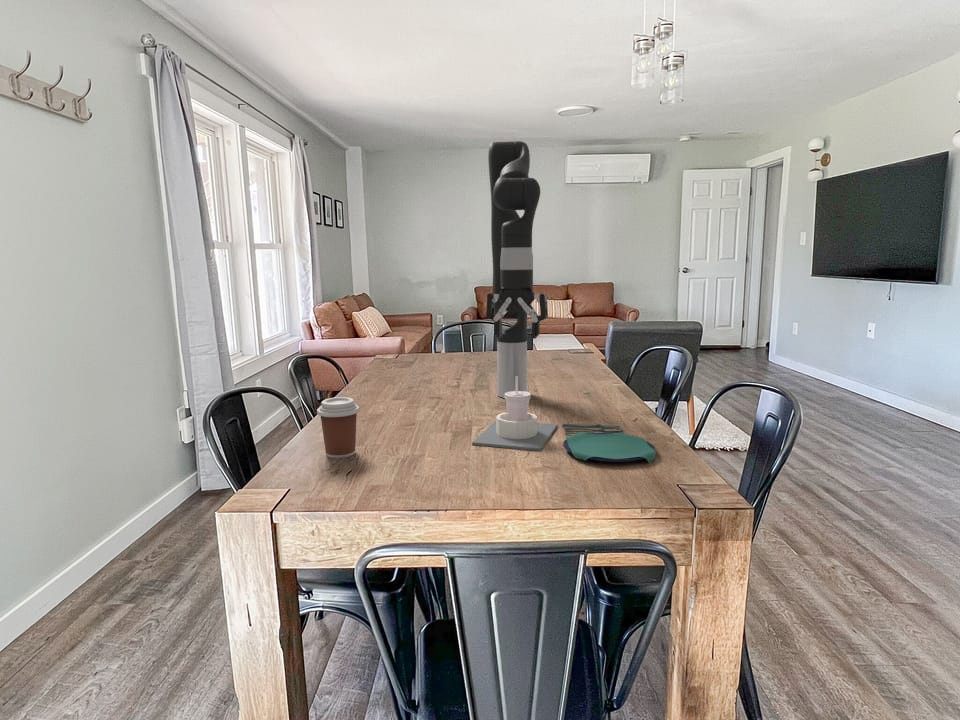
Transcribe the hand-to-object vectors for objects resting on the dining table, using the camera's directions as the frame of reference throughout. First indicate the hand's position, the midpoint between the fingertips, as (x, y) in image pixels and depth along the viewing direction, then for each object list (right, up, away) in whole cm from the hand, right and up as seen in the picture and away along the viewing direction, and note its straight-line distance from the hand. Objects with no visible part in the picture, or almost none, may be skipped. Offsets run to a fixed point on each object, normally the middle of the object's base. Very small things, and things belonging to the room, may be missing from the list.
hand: (516, 337), depth 137 cm
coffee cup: (-40, -26, -8) cm, 48 cm away
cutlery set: (+20, -25, -3) cm, 32 cm away
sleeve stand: (0, -24, +4) cm, 24 cm away
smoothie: (0, -23, +4) cm, 23 cm away
